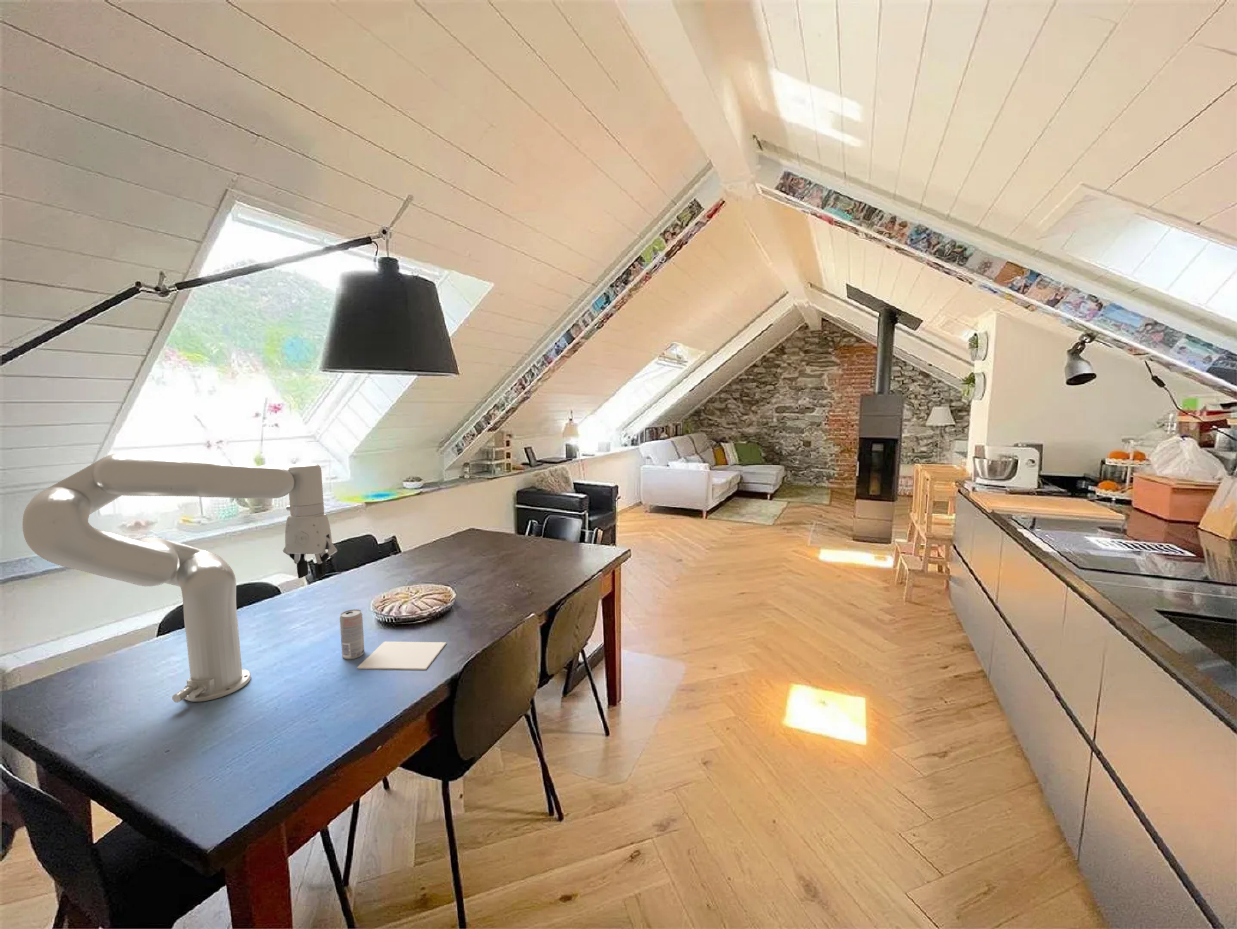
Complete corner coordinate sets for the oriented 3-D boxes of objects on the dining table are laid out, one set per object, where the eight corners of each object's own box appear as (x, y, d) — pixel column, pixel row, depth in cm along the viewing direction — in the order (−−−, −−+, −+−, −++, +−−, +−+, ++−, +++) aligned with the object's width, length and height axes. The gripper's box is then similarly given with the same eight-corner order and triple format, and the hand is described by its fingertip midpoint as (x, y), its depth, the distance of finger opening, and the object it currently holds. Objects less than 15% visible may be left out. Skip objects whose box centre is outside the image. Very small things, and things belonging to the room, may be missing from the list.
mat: (425, 669, 124) (425, 668, 124) (357, 668, 125) (357, 667, 125) (446, 643, 138) (446, 642, 138) (384, 642, 139) (384, 641, 139)
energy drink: (359, 648, 136) (357, 607, 134) (367, 654, 132) (365, 612, 131) (339, 655, 131) (336, 613, 130) (347, 662, 128) (344, 619, 127)
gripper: (265, 512, 124) (271, 581, 126) (329, 513, 123) (334, 582, 126) (286, 506, 131) (291, 571, 133) (346, 507, 131) (350, 572, 133)
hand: (312, 576), depth 129 cm, fingers open, 4 cm apart
